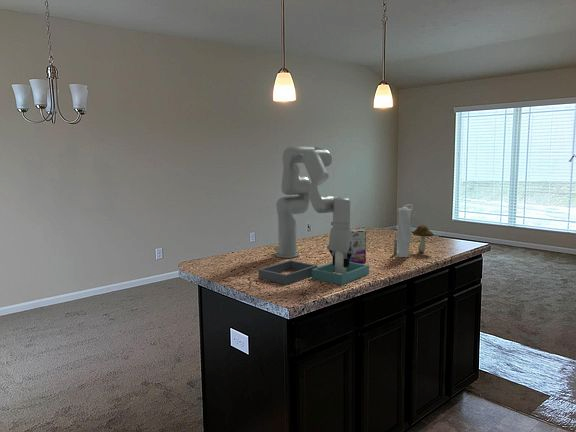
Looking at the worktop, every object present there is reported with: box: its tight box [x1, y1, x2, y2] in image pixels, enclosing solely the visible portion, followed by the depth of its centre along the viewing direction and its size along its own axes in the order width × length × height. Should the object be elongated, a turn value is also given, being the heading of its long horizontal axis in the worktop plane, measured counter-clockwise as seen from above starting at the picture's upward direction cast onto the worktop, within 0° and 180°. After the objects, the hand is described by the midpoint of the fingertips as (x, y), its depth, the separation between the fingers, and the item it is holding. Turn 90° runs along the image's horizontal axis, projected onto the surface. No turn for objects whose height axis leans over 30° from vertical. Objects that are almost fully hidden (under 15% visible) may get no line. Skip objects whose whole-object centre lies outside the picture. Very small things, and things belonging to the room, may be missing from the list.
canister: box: [334, 251, 347, 275], centre depth 204 cm, size 5×5×10 cm
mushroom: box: [412, 224, 434, 253], centre depth 250 cm, size 9×11×15 cm
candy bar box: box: [349, 228, 367, 264], centre depth 229 cm, size 11×5×16 cm, turn 105°
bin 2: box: [311, 262, 370, 286], centre depth 205 cm, size 16×22×4 cm
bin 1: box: [257, 259, 318, 286], centre depth 205 cm, size 16×22×4 cm
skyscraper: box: [392, 203, 414, 259], centre depth 241 cm, size 8×8×28 cm
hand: (340, 265), depth 205 cm, fingers closed on canister, 5 cm apart
